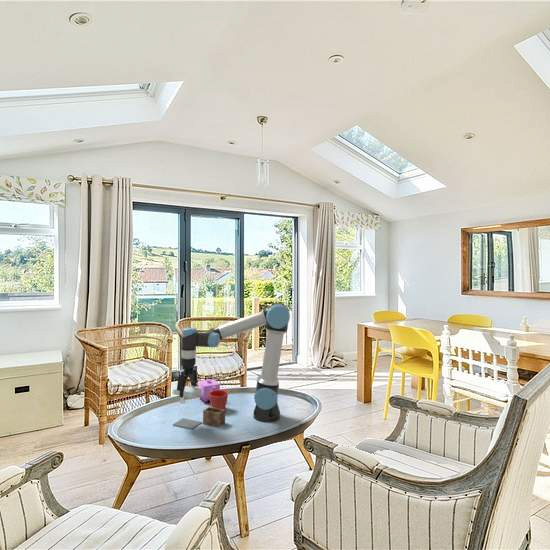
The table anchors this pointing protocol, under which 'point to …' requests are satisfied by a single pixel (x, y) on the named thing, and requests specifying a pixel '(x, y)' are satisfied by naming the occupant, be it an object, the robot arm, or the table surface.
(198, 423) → the plate
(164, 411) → the table surface
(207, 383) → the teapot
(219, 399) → the flower pot
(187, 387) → the lid
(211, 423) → the tea box
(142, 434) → the table surface
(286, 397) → the table surface
